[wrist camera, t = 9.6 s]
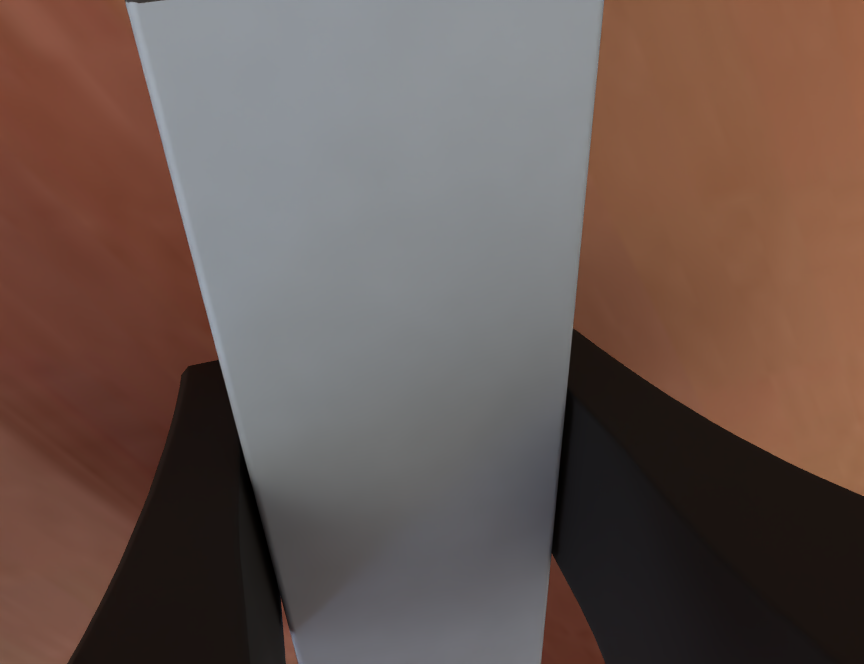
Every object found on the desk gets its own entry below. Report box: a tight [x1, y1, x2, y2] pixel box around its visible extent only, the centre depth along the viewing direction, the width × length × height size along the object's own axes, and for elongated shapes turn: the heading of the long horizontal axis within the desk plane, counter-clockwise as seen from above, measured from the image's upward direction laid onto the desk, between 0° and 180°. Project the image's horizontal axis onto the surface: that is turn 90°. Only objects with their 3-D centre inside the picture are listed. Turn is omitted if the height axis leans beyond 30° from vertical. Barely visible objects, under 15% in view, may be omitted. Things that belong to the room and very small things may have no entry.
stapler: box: [125, 0, 604, 664], centre depth 11 cm, size 14×4×4 cm, turn 2°
